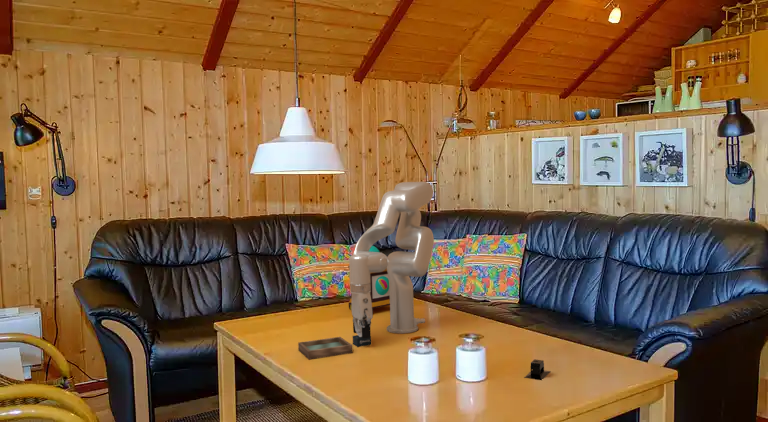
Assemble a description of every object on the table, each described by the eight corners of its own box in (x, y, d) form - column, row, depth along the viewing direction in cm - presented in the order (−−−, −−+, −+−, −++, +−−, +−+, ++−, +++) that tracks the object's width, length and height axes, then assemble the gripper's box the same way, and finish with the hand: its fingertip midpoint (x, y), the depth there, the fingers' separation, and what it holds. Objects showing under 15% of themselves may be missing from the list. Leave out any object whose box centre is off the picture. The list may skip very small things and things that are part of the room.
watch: (360, 348, 217) (359, 318, 216) (350, 343, 224) (349, 314, 223) (373, 345, 219) (373, 316, 219) (364, 340, 226) (363, 312, 226)
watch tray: (340, 344, 223) (340, 336, 223) (352, 352, 211) (352, 345, 211) (298, 350, 217) (298, 342, 216) (308, 359, 205) (308, 351, 205)
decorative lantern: (377, 303, 296) (375, 242, 294) (404, 309, 280) (402, 245, 279) (344, 309, 283) (342, 246, 281) (370, 316, 268) (368, 249, 266)
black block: (532, 368, 189) (532, 354, 189) (555, 372, 185) (555, 357, 185) (519, 380, 179) (519, 365, 178) (543, 384, 175) (543, 369, 175)
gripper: (378, 290, 214) (380, 339, 215) (361, 283, 230) (362, 328, 231) (359, 293, 211) (360, 342, 212) (342, 285, 227) (344, 331, 228)
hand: (361, 334), depth 221 cm, fingers closed on watch, 8 cm apart
